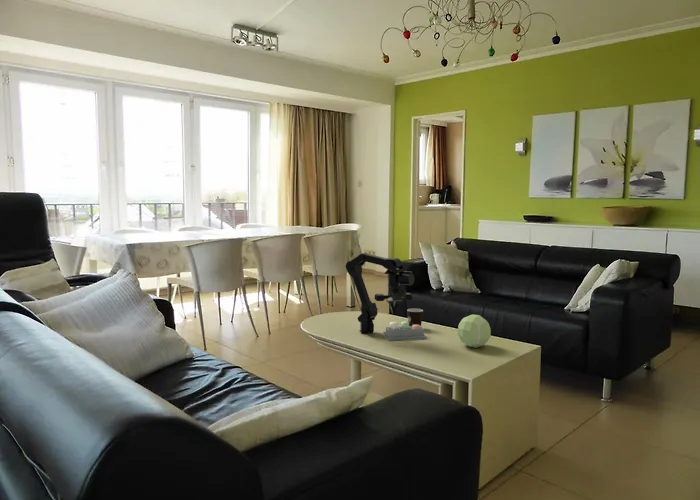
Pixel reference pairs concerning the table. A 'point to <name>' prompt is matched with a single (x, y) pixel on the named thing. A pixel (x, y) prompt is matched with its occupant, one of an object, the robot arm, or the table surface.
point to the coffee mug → (414, 316)
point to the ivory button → (393, 325)
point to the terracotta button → (416, 326)
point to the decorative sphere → (474, 331)
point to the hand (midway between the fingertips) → (393, 313)
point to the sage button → (404, 325)
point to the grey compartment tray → (405, 334)
